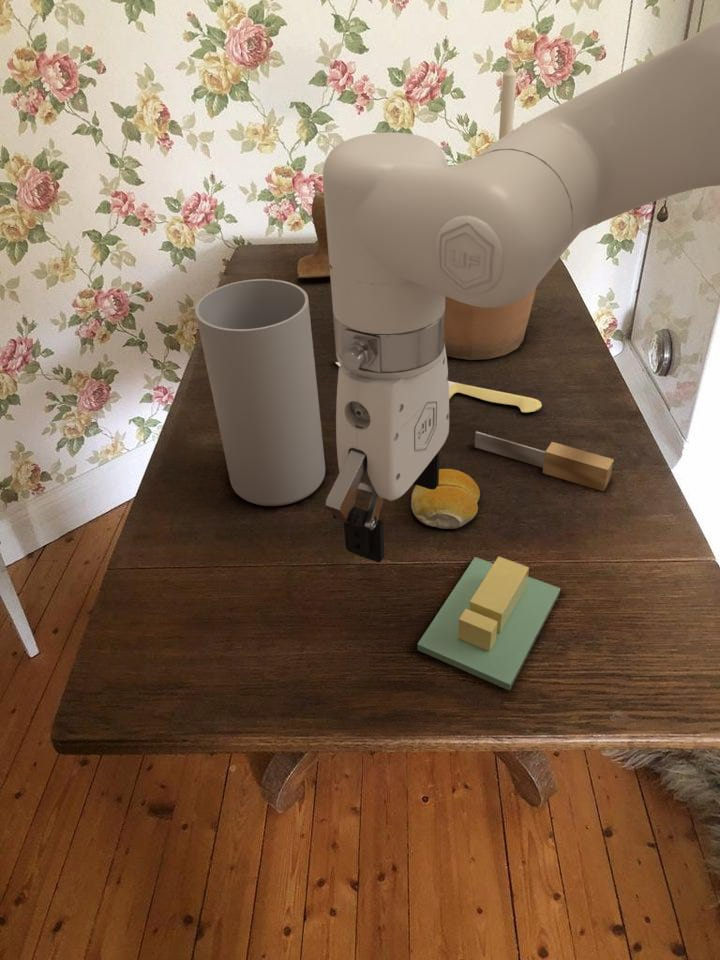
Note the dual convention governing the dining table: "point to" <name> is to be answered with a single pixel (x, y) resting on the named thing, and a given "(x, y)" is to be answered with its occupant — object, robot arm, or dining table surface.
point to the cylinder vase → (264, 388)
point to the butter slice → (477, 629)
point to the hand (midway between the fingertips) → (394, 517)
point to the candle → (507, 100)
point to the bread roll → (447, 500)
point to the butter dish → (504, 643)
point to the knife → (493, 396)
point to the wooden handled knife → (554, 460)
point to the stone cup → (319, 260)
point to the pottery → (485, 328)
